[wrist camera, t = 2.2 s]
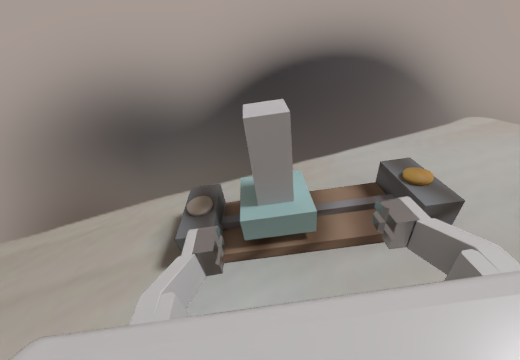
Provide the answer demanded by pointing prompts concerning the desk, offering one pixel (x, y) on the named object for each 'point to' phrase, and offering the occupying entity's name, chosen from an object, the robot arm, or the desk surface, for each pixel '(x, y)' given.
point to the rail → (323, 213)
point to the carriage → (273, 177)
